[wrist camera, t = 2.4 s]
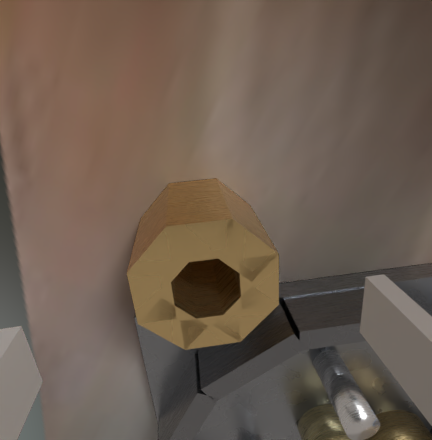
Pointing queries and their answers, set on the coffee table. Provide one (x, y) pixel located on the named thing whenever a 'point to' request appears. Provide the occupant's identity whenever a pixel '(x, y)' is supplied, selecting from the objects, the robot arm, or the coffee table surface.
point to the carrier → (290, 372)
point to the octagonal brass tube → (202, 266)
